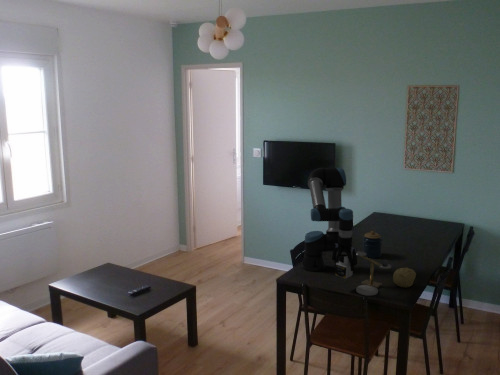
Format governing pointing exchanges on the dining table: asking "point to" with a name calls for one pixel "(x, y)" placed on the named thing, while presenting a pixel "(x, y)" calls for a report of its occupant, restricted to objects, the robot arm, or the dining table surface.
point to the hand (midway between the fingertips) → (343, 274)
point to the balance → (383, 265)
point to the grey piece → (343, 267)
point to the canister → (372, 245)
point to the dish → (367, 290)
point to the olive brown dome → (404, 277)
